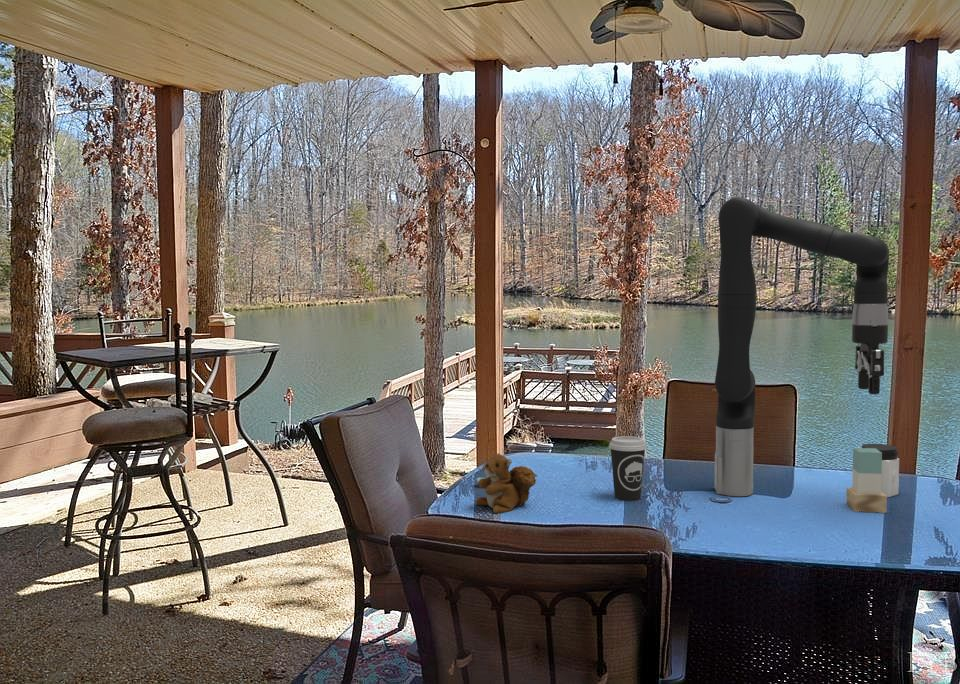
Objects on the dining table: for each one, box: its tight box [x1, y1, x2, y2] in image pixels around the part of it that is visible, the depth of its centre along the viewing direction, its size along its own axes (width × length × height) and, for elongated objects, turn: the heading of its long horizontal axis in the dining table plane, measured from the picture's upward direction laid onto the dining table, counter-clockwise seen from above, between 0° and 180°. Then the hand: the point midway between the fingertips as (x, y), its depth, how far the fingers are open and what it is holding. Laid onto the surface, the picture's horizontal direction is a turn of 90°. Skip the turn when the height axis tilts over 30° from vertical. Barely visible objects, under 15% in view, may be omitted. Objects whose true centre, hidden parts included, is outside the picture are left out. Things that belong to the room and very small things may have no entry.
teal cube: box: [852, 447, 882, 474], centre depth 183 cm, size 5×5×5 cm
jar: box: [861, 443, 900, 498], centre depth 197 cm, size 9×8×12 cm
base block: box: [845, 486, 888, 514], centre depth 184 cm, size 7×7×4 cm
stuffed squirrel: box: [475, 452, 538, 515], centre depth 189 cm, size 10×14×13 cm
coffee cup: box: [608, 435, 648, 502], centre depth 196 cm, size 10×10×15 cm
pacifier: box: [476, 467, 491, 483], centre depth 209 cm, size 7×6×6 cm
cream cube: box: [851, 468, 882, 495], centre depth 183 cm, size 5×5×5 cm
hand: (868, 391), depth 182 cm, fingers open, 8 cm apart
